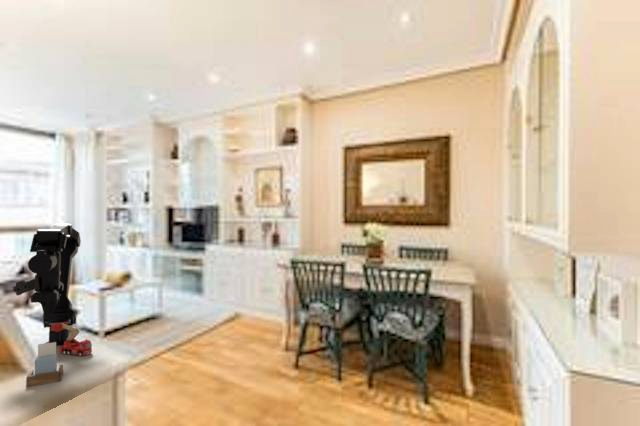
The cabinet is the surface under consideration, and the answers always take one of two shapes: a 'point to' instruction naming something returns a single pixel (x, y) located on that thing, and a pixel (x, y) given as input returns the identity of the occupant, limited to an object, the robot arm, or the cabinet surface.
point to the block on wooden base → (46, 358)
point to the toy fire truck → (72, 341)
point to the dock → (43, 377)
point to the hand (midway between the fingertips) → (47, 318)
